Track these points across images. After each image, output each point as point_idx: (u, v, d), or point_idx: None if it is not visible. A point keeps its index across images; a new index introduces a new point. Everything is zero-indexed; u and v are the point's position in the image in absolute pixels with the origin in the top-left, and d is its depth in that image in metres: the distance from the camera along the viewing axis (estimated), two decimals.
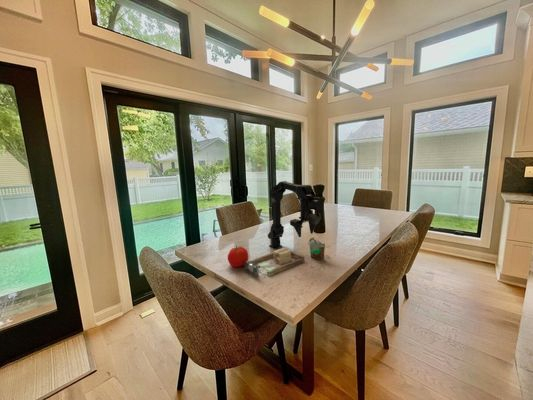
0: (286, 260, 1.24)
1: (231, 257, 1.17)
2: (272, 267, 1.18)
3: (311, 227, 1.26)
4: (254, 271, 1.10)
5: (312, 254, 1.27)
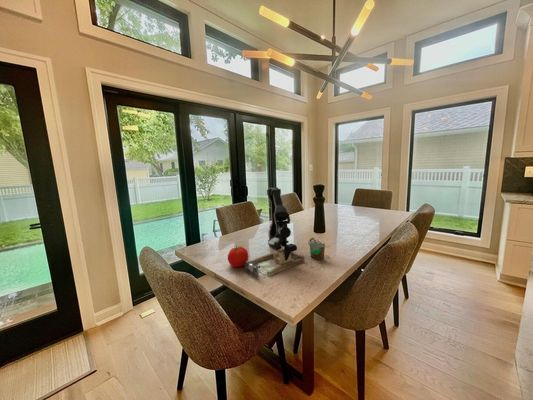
0: None
1: (231, 257, 1.17)
2: (272, 267, 1.18)
3: None
4: (254, 271, 1.10)
5: (312, 254, 1.27)
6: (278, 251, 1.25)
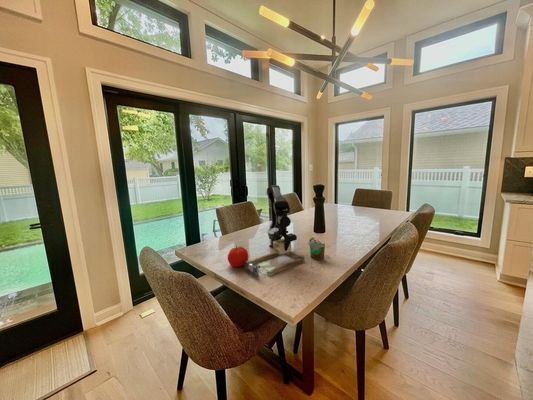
0: None
1: (231, 257, 1.17)
2: (272, 267, 1.18)
3: None
4: (254, 271, 1.10)
5: (312, 254, 1.27)
6: (278, 241, 1.24)
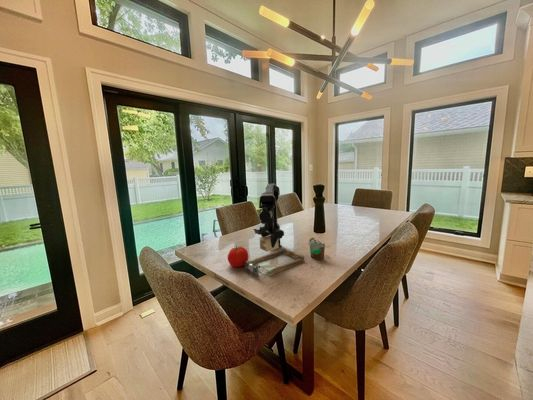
0: None
1: (231, 257, 1.17)
2: (272, 267, 1.18)
3: None
4: (254, 271, 1.10)
5: (312, 254, 1.27)
6: (264, 238, 1.18)
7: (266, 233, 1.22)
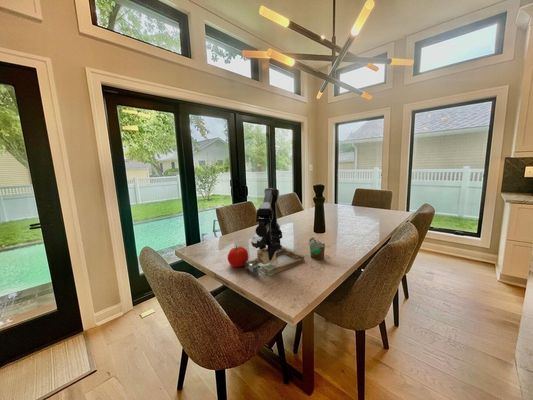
0: None
1: (231, 257, 1.17)
2: (272, 267, 1.18)
3: None
4: (254, 271, 1.10)
5: (312, 254, 1.27)
6: (262, 250, 1.18)
7: (264, 245, 1.22)
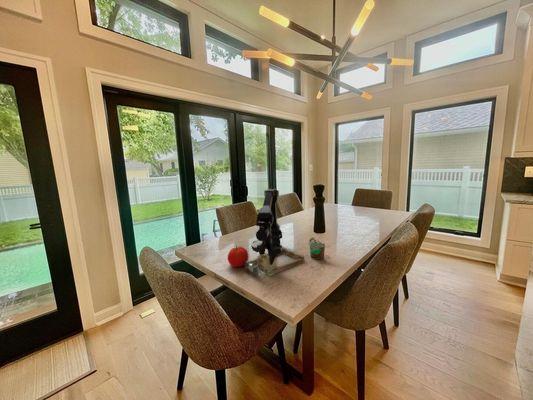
0: (271, 265, 1.18)
1: (231, 257, 1.17)
2: (272, 267, 1.18)
3: None
4: (254, 271, 1.10)
5: (312, 254, 1.27)
6: (262, 256, 1.18)
7: (263, 248, 1.23)
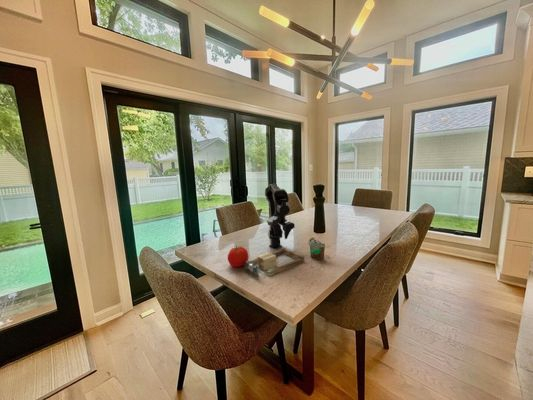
0: (271, 265, 1.18)
1: (231, 257, 1.17)
2: (272, 267, 1.18)
3: None
4: (254, 271, 1.10)
5: (312, 254, 1.27)
6: (262, 256, 1.18)
7: (277, 225, 1.34)
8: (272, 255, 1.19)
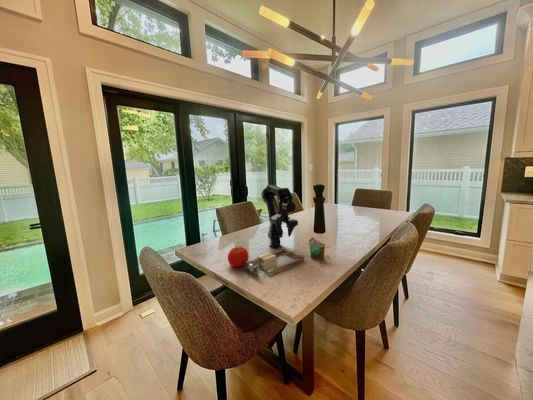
0: (271, 265, 1.18)
1: (231, 257, 1.17)
2: (272, 267, 1.18)
3: None
4: (254, 271, 1.10)
5: (312, 254, 1.27)
6: (262, 256, 1.18)
7: (280, 223, 1.37)
8: (272, 255, 1.19)
